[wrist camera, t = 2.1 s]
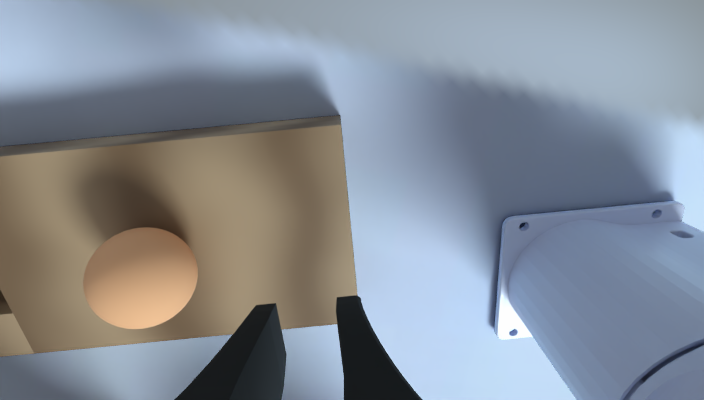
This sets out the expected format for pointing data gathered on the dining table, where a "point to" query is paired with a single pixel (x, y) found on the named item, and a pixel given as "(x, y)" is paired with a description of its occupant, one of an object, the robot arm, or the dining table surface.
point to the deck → (176, 228)
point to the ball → (140, 278)
